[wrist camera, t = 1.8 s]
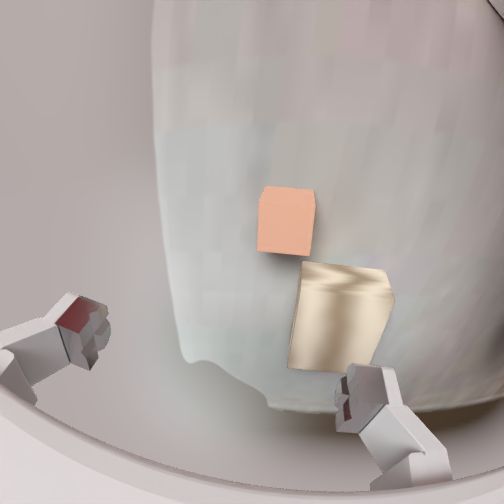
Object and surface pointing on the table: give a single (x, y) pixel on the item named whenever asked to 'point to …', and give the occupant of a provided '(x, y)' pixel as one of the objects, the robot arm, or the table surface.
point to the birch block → (338, 316)
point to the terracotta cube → (286, 220)
